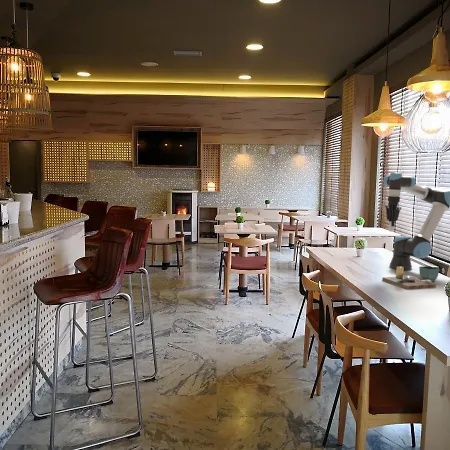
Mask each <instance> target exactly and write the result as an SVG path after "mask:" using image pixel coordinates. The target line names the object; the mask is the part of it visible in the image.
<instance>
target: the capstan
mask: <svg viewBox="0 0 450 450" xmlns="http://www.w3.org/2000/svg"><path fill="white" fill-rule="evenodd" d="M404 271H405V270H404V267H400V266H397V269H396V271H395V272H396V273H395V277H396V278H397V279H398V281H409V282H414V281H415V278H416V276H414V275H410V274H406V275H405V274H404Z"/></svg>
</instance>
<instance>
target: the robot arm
mask: <svg viewBox="0 0 450 450" xmlns="http://www.w3.org/2000/svg"><path fill="white" fill-rule="evenodd" d="M416 181H417V180H416V178H415V177H414V176H411V175H403V173H402V172H390V174H389V175H385V176H384V177H383V181H382V182H383V185H384V186H386V187H388V191H387V192H388V193H387V195H388V196H387V202H388V203H387V205H385V206H384V207H385V213H386V220H387V221H388V232H394V229H395V228H394V227H395V225H396V224H395V223H396V222H398V219H399V215H400V212H401V209H402V207H401V206H400V204H399V203H400V202H401V198H400V197H401V191H402V192H405V193H407V194H410V195H413V196H414V197H417V198H418V200H421V201H423V202H426V203H428V204H431V205H432V207H431V209H430V210H429V213H428V215H427V216H426V218H425V221H424V222H423V224H422V226H421V228H420V230H419V231H418V234H416V235H414V237H412V236H396V237H394V240H393V241H394V242H393V251H392V252H393V253H392V254H393V255H392V258H391V261H390V263H389V268H392V269H393V270H394V269H395V270H397V266H400V267H404V271H410V270H412V268H413V265H412V261H411V257H414V258H417V259H425V258H427V257H428V256H429V255H430V253H431V251H432V245H431V244H432V243H431V239H432V238H433V237H432V236H433V235H434V233H435V231H436V229H437V227H438V225H439V223H440V221H441V220H442V217H443V216H444V214H445V212H447V211H449V210H450V189H449V188H437V187H426V186H421V185H418V184H416Z"/></svg>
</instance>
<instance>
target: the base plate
mask: <svg viewBox="0 0 450 450" xmlns="http://www.w3.org/2000/svg"><path fill="white" fill-rule="evenodd" d="M381 281H383V282H385V283H388V284H392V285H394V286H396V287H400V288H402V289H405V290H416V289H417V290H418V289H431V288H432V289H433V288H436V287H437V284H436V283H434V282H431V280H422V279H420V278H418V277H415V281H414V282H409V281H398V279H397V278H396V276H388V277H386V276H385V277H382V279H381Z"/></svg>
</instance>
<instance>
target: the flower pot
mask: <svg viewBox="0 0 450 450" xmlns="http://www.w3.org/2000/svg"><path fill="white" fill-rule="evenodd" d="M418 269H419V276H420V278H421V280H431V283H434V282H435V281H436V280H437V279H438V277H439V273H440V268H438V267H434V266H431V265H430V266H429V265H425V266H423V265H422V266H419V268H418Z"/></svg>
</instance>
